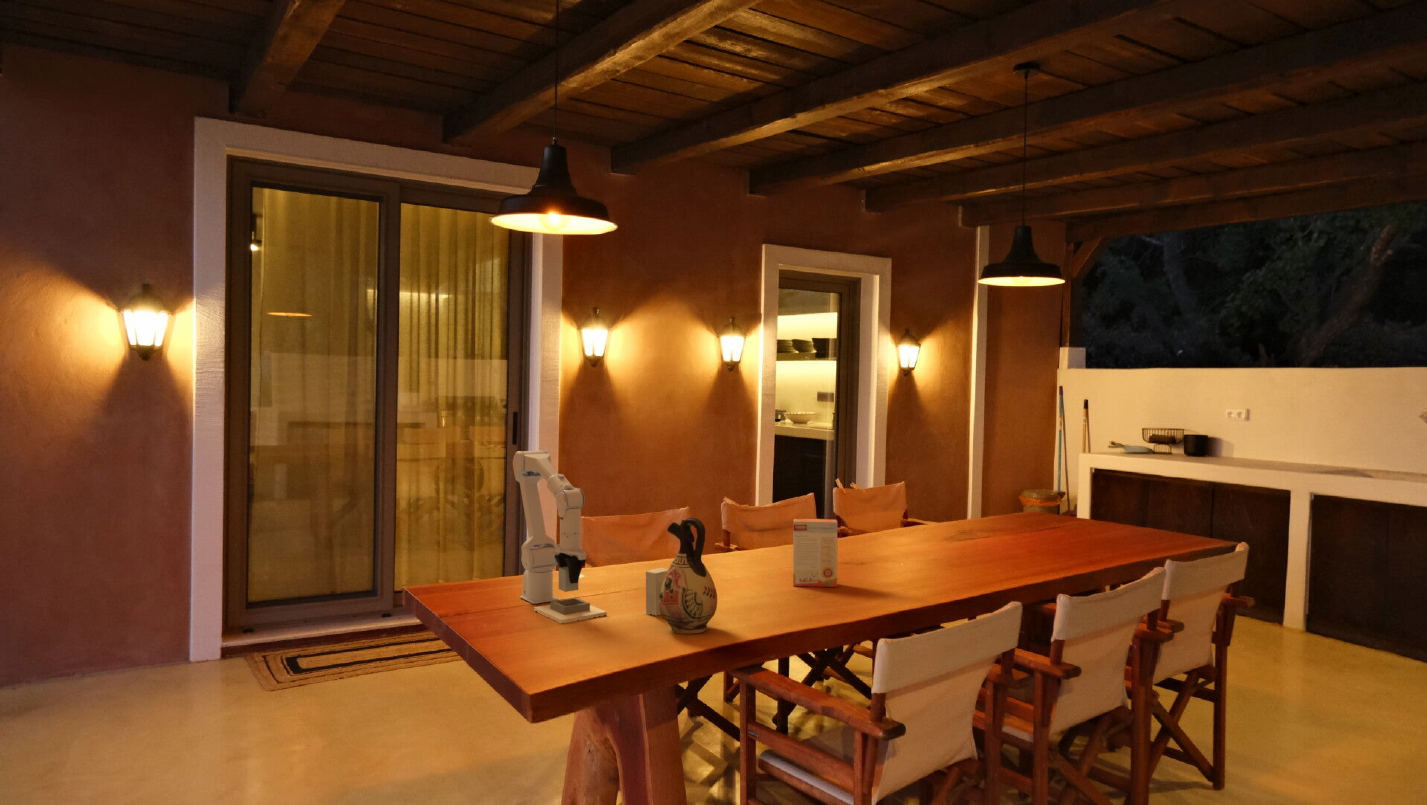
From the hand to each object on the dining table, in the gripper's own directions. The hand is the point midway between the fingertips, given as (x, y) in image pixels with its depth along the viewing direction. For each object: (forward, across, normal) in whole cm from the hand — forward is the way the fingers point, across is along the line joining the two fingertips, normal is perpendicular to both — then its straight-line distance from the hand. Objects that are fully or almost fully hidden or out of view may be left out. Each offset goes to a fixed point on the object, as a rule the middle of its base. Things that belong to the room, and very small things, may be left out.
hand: (570, 581), depth 247 cm
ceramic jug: (+9, +33, +17) cm, 38 cm away
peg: (+2, 0, 0) cm, 2 cm away
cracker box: (+9, +16, +79) cm, 81 cm away
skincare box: (+9, +14, +20) cm, 26 cm away
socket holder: (+9, 0, 0) cm, 9 cm away
